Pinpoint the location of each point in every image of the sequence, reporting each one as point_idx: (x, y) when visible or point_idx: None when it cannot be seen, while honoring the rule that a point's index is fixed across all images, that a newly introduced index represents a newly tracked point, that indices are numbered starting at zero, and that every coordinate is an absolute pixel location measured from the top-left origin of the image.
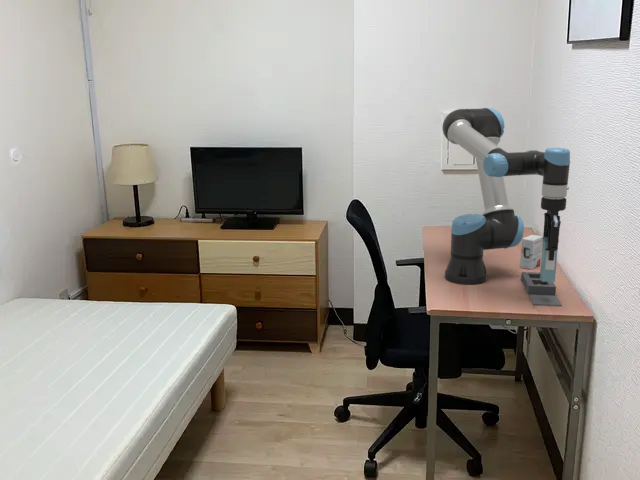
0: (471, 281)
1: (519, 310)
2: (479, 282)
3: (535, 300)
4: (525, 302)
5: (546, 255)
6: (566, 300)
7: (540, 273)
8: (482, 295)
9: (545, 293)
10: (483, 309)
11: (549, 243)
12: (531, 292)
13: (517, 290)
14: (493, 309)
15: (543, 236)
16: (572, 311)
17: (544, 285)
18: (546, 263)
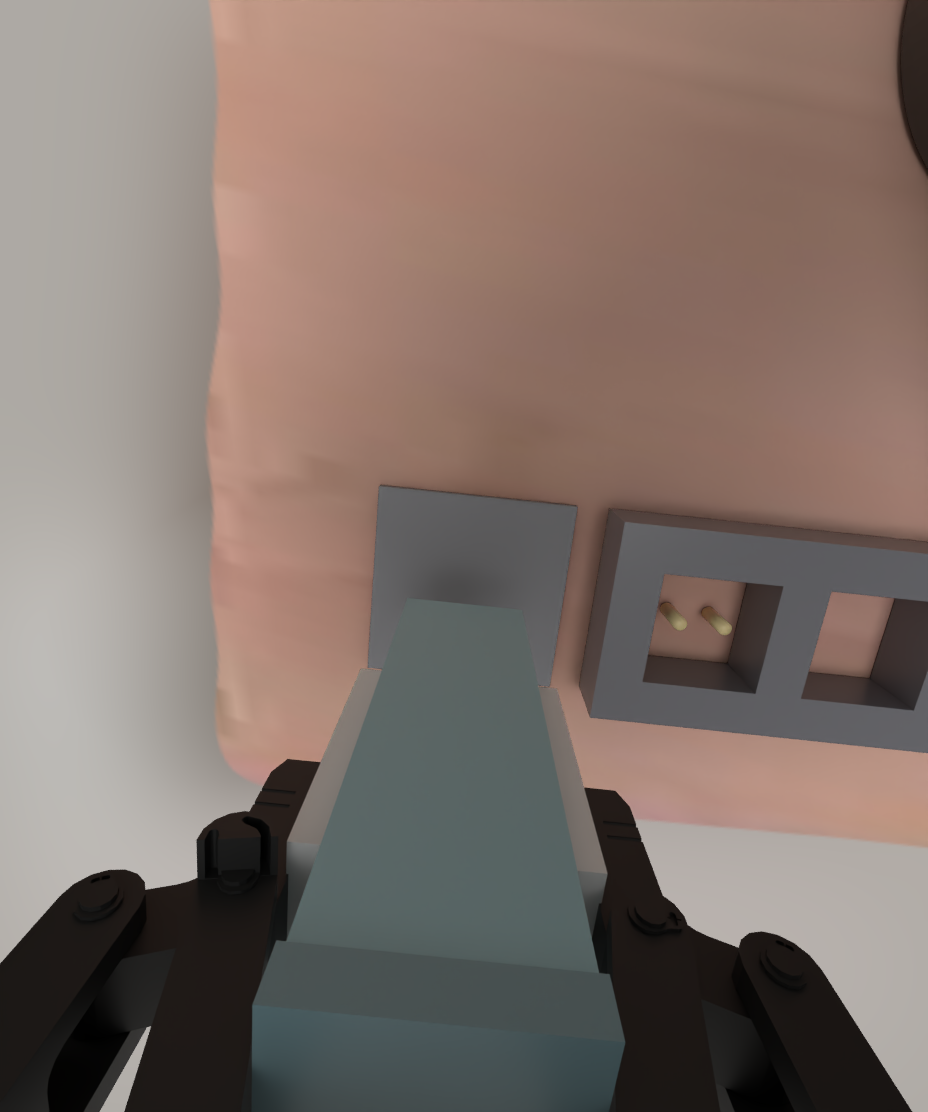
0: (924, 24)
1: (259, 353)
2: (921, 133)
3: (450, 520)
4: (432, 443)
5: (324, 775)
6: None
7: (510, 626)
8: (594, 107)
9: (590, 628)
10: (245, 42)
11: (49, 1001)
12: (608, 535)
13: (702, 451)
14: (256, 138)
15: (849, 1061)
16: (282, 696)
17: (630, 647)
18: (342, 712)
